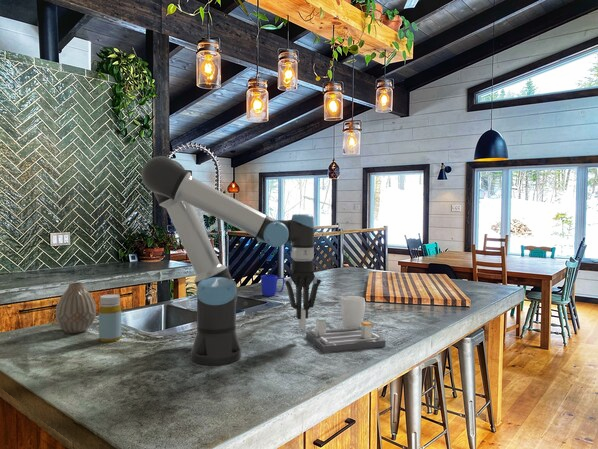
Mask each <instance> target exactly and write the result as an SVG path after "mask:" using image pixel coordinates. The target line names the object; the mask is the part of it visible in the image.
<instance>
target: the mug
mask: <svg viewBox="0 0 598 449" xmlns="http://www.w3.org/2000/svg"><path fill="white" fill-rule="evenodd" d="M278 280H282V287H281V289H280V290H277V286H278V285H277V284H278ZM284 280H285V277H280V276H279V277H278V276H277V275H275V274H263V275H260V283H261V284H260V285H261V294H262V296H265V297H273V296H276V293H282V292H283V290H284V286H285V283H284Z"/></svg>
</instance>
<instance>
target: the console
mask: <svg viewBox="0 0 598 449" xmlns="http://www.w3.org/2000/svg"><path fill="white" fill-rule="evenodd" d="M305 334H306V335H305V336H306V339H308V340H309V341H310V342H311V343H312V344H313V345H315V346H316V348H318V349H319V350H320V351H321V352H322V353H331V352H344V351H354V350H363V349H373V348H383V347H386V339H383V338H382V337H381V336H380V335H378V334H376V333H374V332H373V331H372V337H371V338H368V339H364V338H363V337H361V326H359V327H352V328H343V327H341V328H331V329H326V334H318V333H317V332H316V330H315V329H311V330H308V331H306V333H305Z"/></svg>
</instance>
